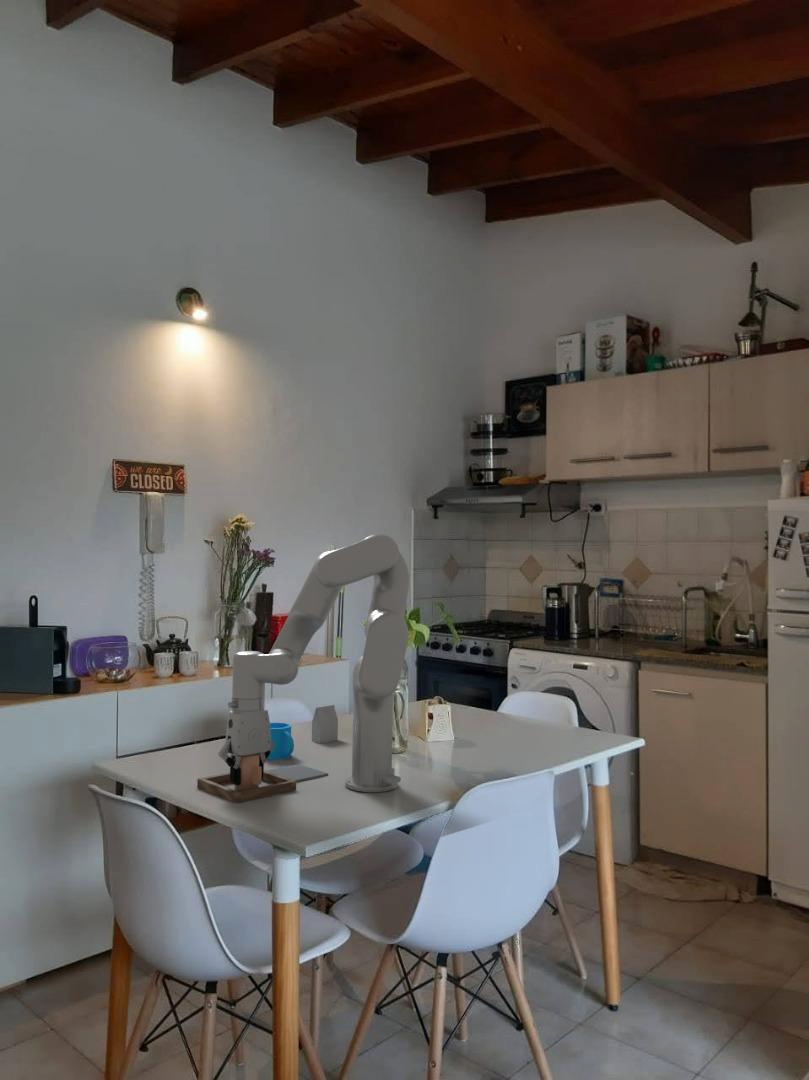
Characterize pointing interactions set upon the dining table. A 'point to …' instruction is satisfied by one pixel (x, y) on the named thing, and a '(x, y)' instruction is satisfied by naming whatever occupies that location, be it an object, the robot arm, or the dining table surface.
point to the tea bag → (325, 724)
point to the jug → (249, 772)
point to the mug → (281, 741)
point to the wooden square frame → (278, 786)
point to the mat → (298, 772)
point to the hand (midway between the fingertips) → (246, 781)
